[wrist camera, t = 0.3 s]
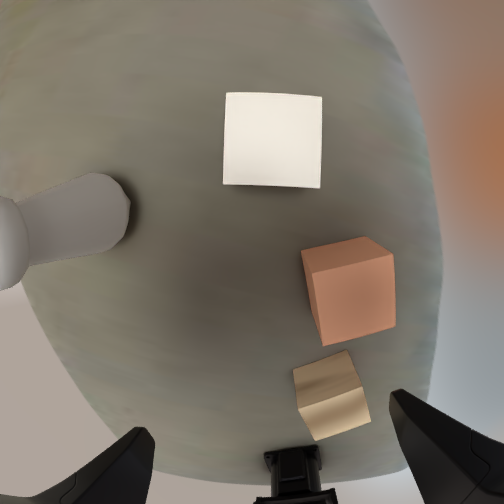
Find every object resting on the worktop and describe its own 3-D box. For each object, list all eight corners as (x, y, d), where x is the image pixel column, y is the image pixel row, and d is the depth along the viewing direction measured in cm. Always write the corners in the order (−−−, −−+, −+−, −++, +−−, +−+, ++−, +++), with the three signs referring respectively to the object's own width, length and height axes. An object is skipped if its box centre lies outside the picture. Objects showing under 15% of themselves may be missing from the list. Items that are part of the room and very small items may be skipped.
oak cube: (357, 385, 23) (370, 421, 18) (308, 402, 24) (315, 440, 19) (346, 349, 22) (362, 386, 17) (292, 369, 23) (297, 409, 18)
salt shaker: (153, 225, 20) (28, 293, 7) (100, 256, 21) (-15, 328, 8) (122, 158, 18) (-19, 154, 6) (72, 194, 19) (-55, 224, 7)
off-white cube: (305, 185, 19) (319, 188, 14) (233, 182, 19) (223, 184, 14) (307, 116, 17) (321, 97, 13) (235, 113, 18) (226, 92, 13)
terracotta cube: (370, 295, 21) (395, 326, 16) (311, 310, 21) (323, 346, 16) (364, 235, 19) (393, 254, 15) (300, 250, 20) (311, 273, 15)
